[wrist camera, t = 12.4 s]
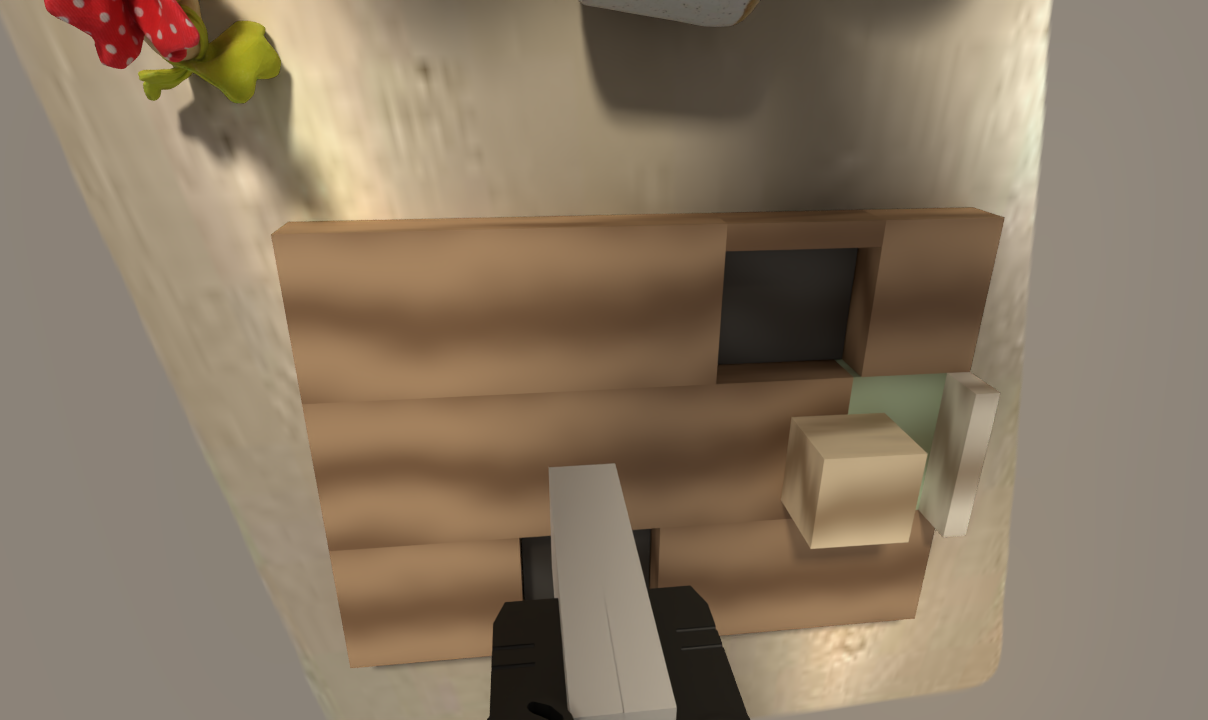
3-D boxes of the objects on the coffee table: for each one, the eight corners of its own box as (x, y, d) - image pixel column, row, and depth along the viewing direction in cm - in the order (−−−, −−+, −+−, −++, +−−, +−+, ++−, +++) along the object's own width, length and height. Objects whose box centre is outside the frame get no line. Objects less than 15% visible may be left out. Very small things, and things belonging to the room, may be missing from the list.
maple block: (791, 417, 43) (824, 459, 39) (884, 412, 44) (927, 453, 39) (780, 499, 46) (810, 548, 41) (869, 494, 46) (908, 542, 42)
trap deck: (288, 221, 38) (250, 249, 33) (972, 207, 43) (1041, 229, 37) (359, 634, 50) (340, 706, 44) (894, 589, 54) (937, 650, 48)
